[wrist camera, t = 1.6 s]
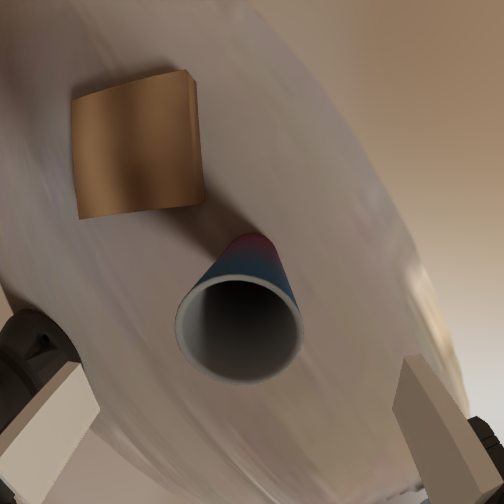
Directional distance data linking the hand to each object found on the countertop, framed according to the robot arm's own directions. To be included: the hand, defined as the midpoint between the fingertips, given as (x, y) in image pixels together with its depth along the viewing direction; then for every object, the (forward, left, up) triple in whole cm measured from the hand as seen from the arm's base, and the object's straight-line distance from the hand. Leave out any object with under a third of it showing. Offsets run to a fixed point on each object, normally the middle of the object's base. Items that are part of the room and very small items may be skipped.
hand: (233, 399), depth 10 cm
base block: (-10, +12, -20) cm, 25 cm away
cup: (0, 0, -20) cm, 20 cm away
